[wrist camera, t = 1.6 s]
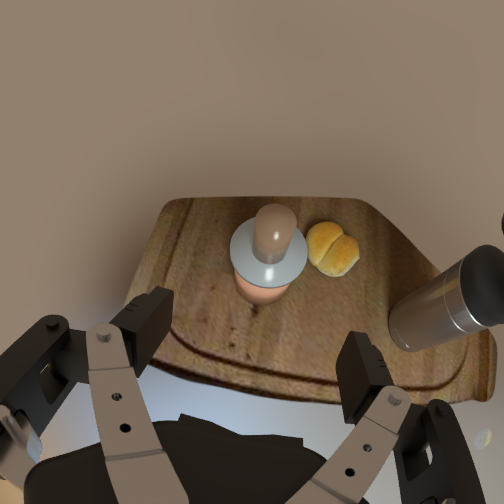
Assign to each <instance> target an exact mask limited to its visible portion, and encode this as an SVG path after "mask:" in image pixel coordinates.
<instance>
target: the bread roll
mask: <svg viewBox="0 0 504 504" xmlns="http://www.w3.org/2000/svg"><path fill="white" fill-rule="evenodd" d="M305 241H306V244H307V250H308V255H307V258H308V260H309V261H310V263H311V264H312V265H314V266H315V267H317V268H318V269H319V271H321V272H322V273H324V274H326V275H328V276H331V277H338V276H343V275H344V274H345V273H346V272H347V271H348V270H349V269H350V268H351V267H352V266H353V265H354V263H356V261H357V260H358V259H359V247H358V244H357V242H356V241H355V239H354V238H352V237H350V236H347V235H345V234H344V233H343V230H342V228H341V227H340V226H339V225H338V224H336V223H333V222H322V223H318V224H316V225H314V226H313V227H312V228H311V229H310V230H309V231H308V233H307V236H306V239H305Z"/></svg>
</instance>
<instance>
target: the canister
mask: <svg viewBox="0 0 504 504" xmlns="http://www.w3.org/2000/svg"><path fill="white" fill-rule="evenodd" d="M234 282H235V287H236V289H237V291H238V293H239V294H240V295H241V297H242V298H244V299H245V300H246V301H248V302H250V303H252V304H255V305H269V304H272V303H275V302H276V301H278V300H279V299H280V298H282V297H283V295H284V294H285V292H286V290H287V289H288V287H289V285H290V283H289V284H288V285H285V286H283V287H279V288H273V289H266V288H260V287H256V286H254V285H252V284H250V283H248V282H246V281H245V280H244V279H242V278H241V277H240V276H239V275H238V273H237V272H236V271H235V269H234Z"/></svg>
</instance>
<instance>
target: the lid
mask: <svg viewBox="0 0 504 504" xmlns="http://www.w3.org/2000/svg"><path fill="white" fill-rule="evenodd" d="M296 225H297V220H296V217H295V215H294V213H293V212H292V211H291V210H290V209H289V208H288V207H286V206H284V205H281V204H268V205H265V206H263V207H262V208H261V209H260V210H259V211H258V212H257V214H256V217H254V218H251V219H249V220H247V221H245V222H244V223H242V224H241V225H240V226H239V227H238V228H237V230H236V231H235V232H234V234H233V236H232V239H231V243H230V258H231V262H232V265H233V267H234V269H235V271H236V272H237V273H238V275H239V276H240V277H241V278H242V279H244V280H245V281H246V282H248V283H250V284H252V285H254V286H256V287H260V288H266V289H273V288H279V287H283V286H285V285H288V284H289V283H291V282H292V281H294V280H295V279H296V278H297V277H298V276H299V275H300V273H301V272H302V270H303V268H304V266H305V264H306V261H307V255H308V250H307V244H306V241H305V238H304V237H303V235H302V233H301V232H300V231H299V229H298V228H297V227H296Z"/></svg>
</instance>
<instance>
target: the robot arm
mask: <svg viewBox="0 0 504 504" xmlns="http://www.w3.org/2000/svg"><path fill="white" fill-rule="evenodd" d="M502 231H503V234H504V214H503V218H502ZM173 298H174V292H173V290H170V289H166V288H162V287H159V286H157V287H156V288H155V289H154V290H153V291H152V292H151V293H150V294H149V295H148V294H145V293H144V294H141V295H139V296H137V297H135V298H134V299H133V300H132V301H130V302H129V304H127V305H126V306H125V307H124V309H122V310H121V311H120V312H119V313H118V314H117V315H116V316H115V317H114V318H113V319H112V320H111V321H110V322H109V323H99V324H95V325H93V326H91V327H90V328H89V329H88V330H87V331H80V330H74V329H69V323H68V321H67V319H66V318H64V317H63V316H60V315H48V316H45V317H43V318H41V319H40V320H39V321H38V322H36V323H35V324H34V325H33V326H32V327H31V328H30V329H28V330H27V331H26V332H25V333H24V334H23V335H22V336H21V337H20V338H19V339H17V340H16V341H15V342H14V343H13V344H12V345H11V346H10V347H9V348H8V349H7V350H6V351H5V352H4V353H3V354H2V355H1V356H0V479H3V480H7V481H8V482H10V483H11V484H12V485H14V486H15V487H16V488H18V489H19V490H20V491H22V492H23V493H24V504H369V502H368V501H366V500H365V499H364V498H363V496H364V494H365V493H366V491H367V490H368V488H369V487H370V486H371V484H372V482H373V481H374V479H375V478H376V476H377V474H378V473H379V471H380V470H381V468H382V466H383V465H384V463H385V461H386V460H387V458H388V456H389V454H390V452H391V451H392V450H393V451H394V456H395V462H396V468H397V474H398V480H399V487H400V494H401V502H402V504H486V502H485V499H484V495H483V491H482V488H481V484H480V481H479V478H478V475H477V471H476V469H475V466H474V463H473V460H472V457H471V454H470V451H469V448H468V446H467V443H466V441H465V438H464V435H463V433H462V430H461V428H460V425H459V423H458V421H457V418H456V416H455V414H454V411H453V409H452V408H451V406H450V405H449V404H448V403H446V402H445V401H443V400H440V399H433V400H431V401H430V402H429V403H428V404H427V406H426V407H423V406H420V405H416V404H413V403H411V399H410V397H409V395H408V394H407V393H406V392H405V391H404V390H402V389H401V388H399V387H396V386H395V385H394V383H393V380H392V378H391V375H390V373H389V370H388V368H387V365H386V363H385V362H384V358H383V356H382V353H381V352H380V351H379V350H378V349H377V348H376V346H375V345H371V342H370V340H369V337H368V335H367V334H366V333H361V332H355V331H350V332H349V334H348V336H347V338H346V340H345V342H344V345H343V347H342V349H341V351H340V353H339V356H338V358H337V361H336V375H337V380H338V386H339V391H340V397H341V403H342V409H343V415H344V421H345V423H346V424H355V428H354V429H353V430H352V432H351V433H350V434H349V436H348V437H347V438H346V439H345V440H344V442H343V443H342V444H341V445H340V447H339V448H338V449H337V450H336V451H335V453H334V454H333V455H332V456H331V457H330V458H329V459H328V460H326V459H325V458H324V457H323V456H321V455H320V454H318V453H316V452H314V451H312V450H310V449H308V448H305V447H303V438H296V437H288V436H281V435H240V434H237V433H235V432H232V431H230V430H228V429H226V428H223V427H221V426H219V425H217V424H215V423H213V422H210V421H207V420H203V419H199V418H195V417H191V416H189V415H185V414H182V413H181V414H180V417H179V419H178V421H156V422H151V419H150V417H149V414H148V411H147V408H146V406H145V403H144V400H143V397H142V394H141V391H140V388H139V385H138V382H137V379H136V377H137V378H139V377H140V375H141V374H142V372H143V370H144V369H145V367H146V366H147V364H148V363H149V361H150V360H151V358H152V356H153V355H154V353H155V352H156V350H157V349H158V347H159V346H160V344H161V343H162V341H163V339H164V338H165V336H166V335H167V333H168V332H169V329H170V327H171V322H172V312H173ZM497 324H504V253H503V252H502V251H501V250H500V249H498V248H496V247H494V246H492V245H482V246H479V247H478V248H476V249H474V250H473V251H472V252H470V253H469V254H468V255H466V256H465V257H464V258H462V259H461V260H460V261H458V262H457V263H455V264H454V265H453V266H451V267H450V268H449V269H447V270H446V271H444V272H443V273H441V274H440V275H438V276H437V277H435V278H434V279H432V280H431V281H429V282H428V283H426V284H425V285H423V286H422V287H420V288H418V289H417V290H415V291H414V292H412V293H410V294H409V295H407V296H406V297H404V298H402V299H401V300H399V301H398V302H397V303H396V304H395V305H394V306H393V308H392V310H391V312H390V316H389V330H390V334H391V337H392V339H393V340H394V342H395V343H396V344H397V346H398V347H400V348H401V349H402V350H405V351H408V352H416V351H419V350H423V349H427V348H430V347H434V346H437V345H440V344H444V343H447V342H450V341H453V340H456V339H459V338H462V337H465V336H468V335H471V334H473V333H476V332H478V331H481V330H484V329H486V328H489V327H491V326H494V325H497ZM47 364H48V366H47V367H46V368H45V366H46V365H47ZM44 368H45V369H44ZM43 369H44V370H43ZM42 370H43V371H42ZM41 371H42V372H41ZM40 373H41V374H40ZM77 382H80V383H86V384H90V389H91V396H92V402H93V408H94V413H95V418H96V423H97V428H98V432H99V436H100V440H101V442H99V443H96V444H93V445H91V446H87V447H85V448H82V449H79V450H76V451H72V452H69V453H66V454H63V455H59V456H56V457H52V458H49V459H46V460H43V461H41V462H39V460H40V455H41V452H42V443H41V440H40V438H39V437H40V436H41V434H42V433H43V431H44V430H45V428H46V427H47V425H48V424H49V422H50V421H51V419H52V418H53V416H54V415H55V413H56V412H57V410H58V409H59V407H60V406H61V404H62V403H63V402H64V400H65V399H66V397H67V396H68V394H69V393H70V392H71V390H72V389H73V387H74V386H75V385H76V383H77ZM429 445H430V448H431V452H432V456H433V458H432V462H431V464H430V465H429V460H428V457H427V453H426V448H427V447H428V446H429Z"/></svg>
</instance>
